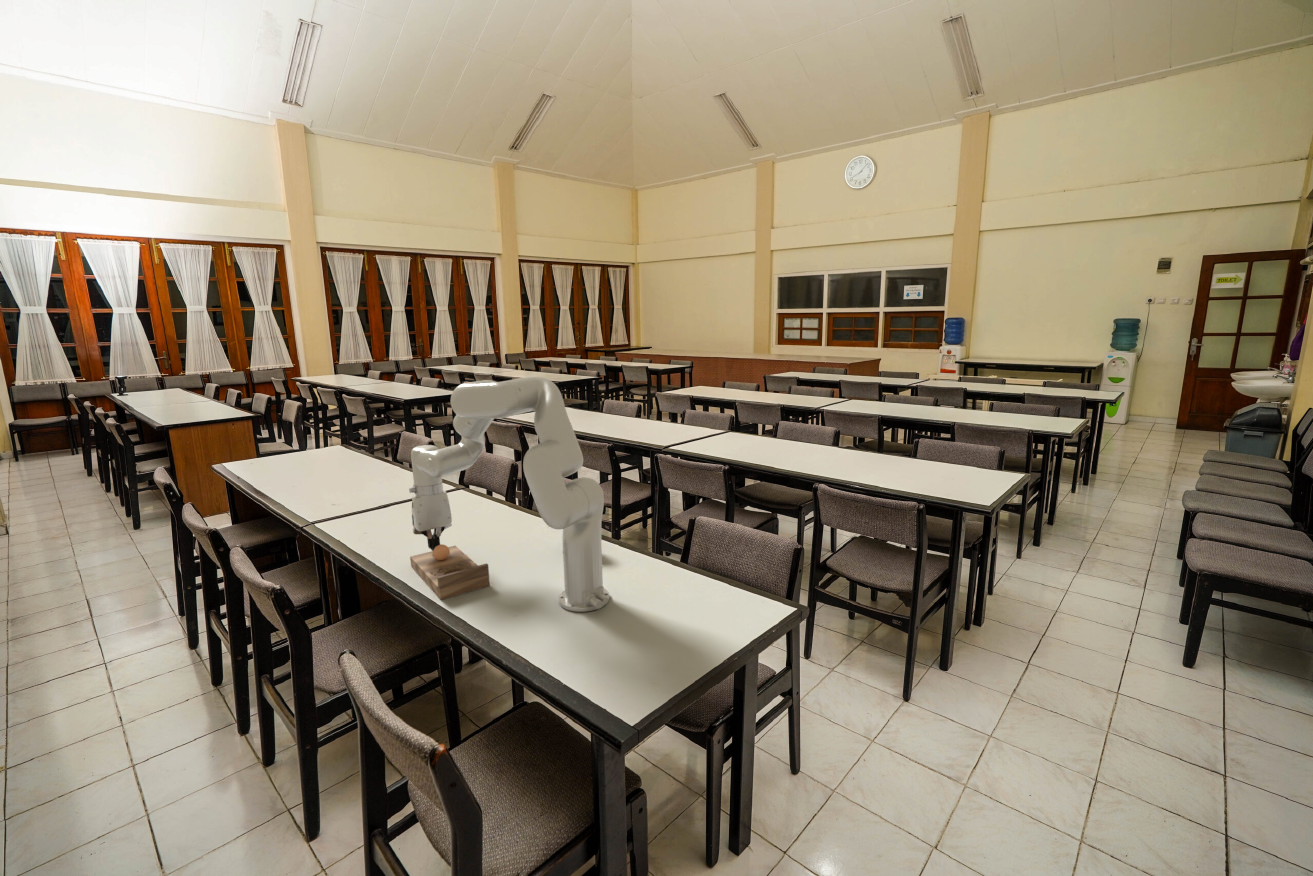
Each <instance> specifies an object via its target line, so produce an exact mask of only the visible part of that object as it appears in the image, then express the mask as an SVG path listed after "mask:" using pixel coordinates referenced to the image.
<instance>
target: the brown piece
mask: <svg viewBox="0 0 1313 876" xmlns="http://www.w3.org/2000/svg"><path fill="white" fill-rule="evenodd" d="M447 547H448V548H449V550H450V554H449V556H448V557H447V558H446V559H445V560H437V559H436V558H435V557H434V555H433V551H432V550H431V551H427V552H423V553H419V554H416V555H411V556H409V558H410V566H411V568H412V569H413V571H415V572H416V574H417V576H419V577H420V578H421V579H422V581H423V582H424V583H425V584H426V585H427V586H428V587H429V589H430V590H431V591H433V593H434V595H435V596H436V597H437V598H438V599H439V600H440V601H442V600H445V599H449V598H452V597H455V596H459V595H462V594H465V593H469V592H473V591H476V590H479V589H483V588H486V587H489V586H491V584H490V571H489V564H488V563H483V564H479V565H478V564H477V563H476V562H475V561H473V560H472V559H471V558H470V557H469V556H468V555H467V554H465V553H464V552H463V551H462V550H461V549H460V548H459V547H458V546H456V545H453V546H447Z"/></svg>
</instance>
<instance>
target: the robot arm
mask: <svg viewBox="0 0 1313 876" xmlns="http://www.w3.org/2000/svg"><path fill="white" fill-rule="evenodd" d="M562 395H563V394H562V392H561V391H560V389H559V387H558V386H557V385H556V384H555V383H554V382H553V381H552V380H551V379H548V378H545V377H541V376H529V377H527V376H525V377H520V378H515V379H508V380H503V381H497V380H496V381H495V380H492V379H485V380H484V379H483V380H477V381H476V380H475V381H470V382H464V383H461V384H459V385H458V386H456V387H455V388H454V390H453V391H452V393H451V396H450V406H451V410H452V411H453V412H454V414H455V416H454V418H453V420H452V426H453V428H454V430H455V431H456V433H458V435H460V436H461V437H462V438H461V439H460V441H459V442H458V444H454V445H449V446H446V447H442V448H439V447H437V446H436V445H432V444H425V445H417V446H415V447H414V448H413V447H412V449H411V452H410V458H411V468H412V478H413V486H412V487H409V488H408V490H409V491H408V492H409V493H410V494H411V493H412V498H411V499H412V500H411V523H412V526H413V529H412V533H413V535H423V536H425V537H426V539H427V547H428V548H429V549H430V550H431V551H434V548H435V547H436V546H438V545H441V541H440V539H441V538H440V537H441V535H442V533H443V532H444V531H445V530H446V529H448V528H450V527H452V525H453V524H452V521H453V520H452V519H453V518H452V510H451V505H450V501H449V497H448V493H447V491H446V490H444V489H443V487H444V485H443V478H444V477H447V476H450V475H453V474H456V473H459V472H461V471H466V470H468V469H469V468H470V467H472V466H473V465H474V464H475V463H476V462H477V460H478V459H479V457H480V456H481V454H482V453H483V452H484V449H485V445H486V438H485V432H487V430H488V429H489V427H490V426H491V424H492V423H493V421H494V420H495V419H503V418H510V417H514V416H517V415H522V414H525V413H529V412H534V415H533V416H534V417H533V421H534V422H533V425H534V430H535V433H536V434H537V438H538V441H539V443H537V444H534V445H533V446H531V447H530V448H528V450H527V451H526V453H525V454H524V456H523V462H522V463H523V464H522V466H523V467H522V468H523V473H524V477H525V479H526V482H527V485H528V487H529V491H530V493H531V495H532V498H533V500H534V504H535V505H536V508H537V511H538V513H539V516H540V517H541V519H542V521H543V522H544V523H545V524H546V525H547V526H548V527H550V528H551V529H553V530H559V531H560V530H562V557H563V558H562V561H563V577H564V578H563V579H564V580H563V581H564V590H563V591H562V592H561V593H560V594H559V596H558V603H559V605H560V606H561V608H564V609H565V610H567V611H570V612H575V613H576V612H578V613H579V612H580V613H581V612H583V613H584V612H592V611H595V610H600V609H601V608H603V607H604V606H606V605H607V604H608V603H609V601H610V592H609V591H608V589H606V588H604V584H603V582H604V581H603V553H602V549H603V548H602V520H603V512H604V506H605V497H604V491H603V488H602V487H601V484H599V483H598V481H597V480H595V479H593V478H591V477H588V476H587V477H578V478H574V479H572V480H570V481H568V482H565V480H564V478H566V477H569V476H571V475H573V474H575V473H577V472H578V471H580V470H581V468H582V467H583V464H584V456H583V452H582V449H581V446H580V444H579V441H578V438H577V436H576V433H575V431H574V428H573V425H572V423H571V421H570V419H569V416H568V413H567V408H566V406H565V401H564V398H563V396H562ZM432 530H433V533H432Z"/></svg>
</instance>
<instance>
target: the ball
mask: <svg viewBox="0 0 1313 876" xmlns="http://www.w3.org/2000/svg"><path fill="white" fill-rule="evenodd" d="M448 547H449V546H448V545H446V544H441V543H440V545H438V546H436V547H435V548H434V551H433V555H434V557H435V558H436V559H437V560H445V559H446V558H447V557H448V556H449V554H450V550H449V548H448Z"/></svg>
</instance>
